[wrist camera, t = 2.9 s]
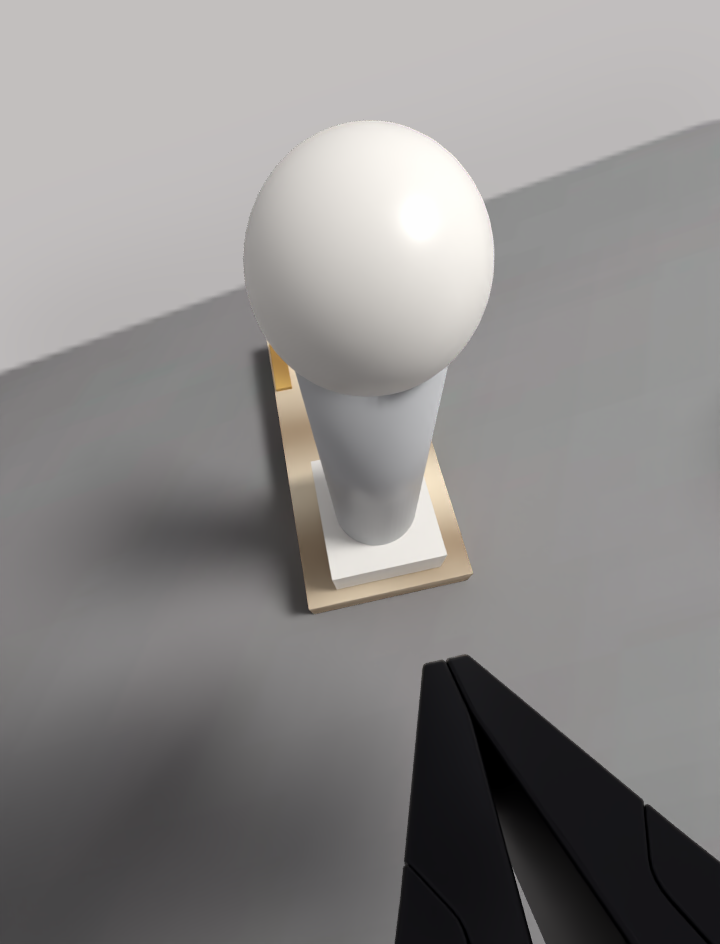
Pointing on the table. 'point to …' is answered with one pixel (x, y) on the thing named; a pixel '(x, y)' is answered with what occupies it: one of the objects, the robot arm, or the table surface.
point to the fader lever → (370, 323)
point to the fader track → (308, 518)
